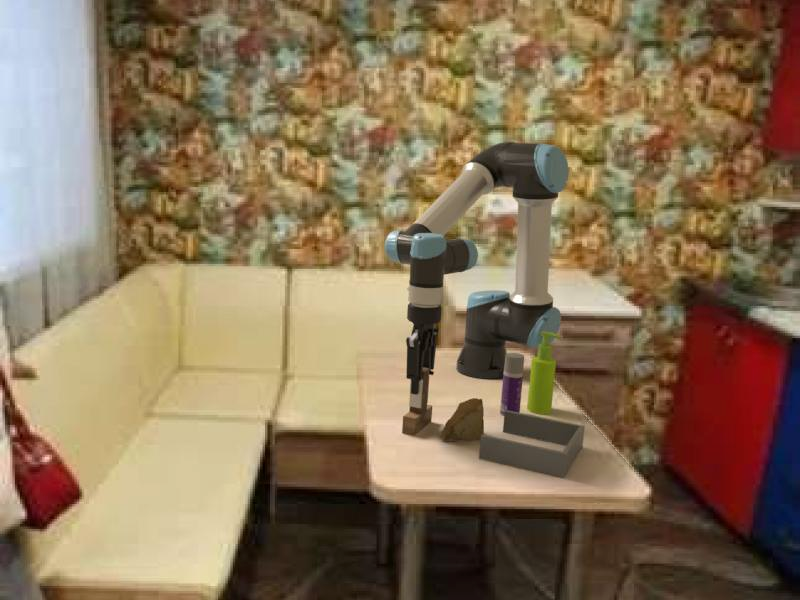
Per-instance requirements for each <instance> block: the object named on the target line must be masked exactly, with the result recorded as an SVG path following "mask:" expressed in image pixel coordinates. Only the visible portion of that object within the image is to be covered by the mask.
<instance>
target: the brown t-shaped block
mask: <svg viewBox="0 0 800 600" xmlns="http://www.w3.org/2000/svg"><path fill="white" fill-rule="evenodd" d="M429 369H430V368H425V367H423V370H422V379H421V380H423V390H422V405H421V408H416V407H411V406H409V411H408V412H407V413H406V414H404V415H403V416H402V427H401V428H402V430H401V434H405V435H408V436H413V437H414V436H416V435H417V434H419V433H420V432H421V431H422V430H423V429H424V428H426V427H427V426H429V424H430V423H432V417H433V405H432V404H431V405H430V404H428V403H427V398H428V399H429V390H428V383H429V384H430V375H429Z"/></svg>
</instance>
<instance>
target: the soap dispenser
mask: <svg viewBox="0 0 800 600" xmlns="http://www.w3.org/2000/svg"><path fill="white" fill-rule="evenodd" d="M540 335H543V339H542V344H539V345H538V348H537V356H533V357H531V366H530V373H529V374H530V375H529V385H528V386H529V387H528V398H527V408H526V409H527V411H529V412H530V413H532V414H537V415H548V414H550V413H552V407H553V406H552V405H553V396H554V387H555V376H556V366H557V360H556V359H555V358H553V357H552V353H553V345H551V344H549V340H550V337H554V338H555V339H556V340H561V339H563V337H564V336H563V335H561V334H559V333H557V334H556V333H552V332H544V331H543V332H541V333H540Z"/></svg>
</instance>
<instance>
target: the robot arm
mask: <svg viewBox="0 0 800 600" xmlns="http://www.w3.org/2000/svg"><path fill="white" fill-rule="evenodd" d="M568 181H569V164H568V159H567V156H566V155H565V152H564V151H563V149H561V148H560V147H559V146H557V145H552V144H546V143H536V142H535V143H533V142H515V141H504V142H498V143H497V144H494V145H491V146H490V147H487V148H485V149H483V150H482V151H481V152H479V153H477V154H476V155H475V156H473V157H472V158H471V159H470V160H469V161H468V162H467V163H466V164H465V165H464V166H462V169H461V174H460V175H459V176H458V177H457V178H456V179H455V180H454V181H453V182H452V184H451V185H449V186H448V188H446V190H444V192H442V193H441V195H440V196H438V197H437V198H436V199H435V201H433V202H432V203H431V204H430V206H428V207H427V208H426V210H425V211H423V213H422V214H420V216H418V218H417V219H416V220H414V222H413V223H412V224H411V225H410V226H409V227H408V228H407V229H406V230H405V231H404V230H401V229H400V230H394V231H391V232H390V233H389V234H388V235H387V236H386V239H385V242H384V252H385V255H386V258H388V259H389V260H390V261H393V262H395V263H400V264H402V265H409V266H410V267H409V268H410V270H409V280H408V281H409V282H408V286H407V289H406V290H407V291H408V302H409V303H408V305H407V313H406V319H407V321H408V322H410V323H412V324H413V326H412V330H411V337H409V336H408V337H406V340H405V343H406V379H408V380H410V383H409V384H410V385H409V399H408V400H409V401H408V402H409V403H408V404H409V405H408V406H409V407H410V406H411V407H416V408H421V405H422V390H423V380H421V379H422V370H423V367H425V368H430V369H429V376H434V374H435V371H433V370H434V368H435V363H436V362H435V361H436V359H435V358H436V349H437V340H438V334H439V327H438V326H437V327H436V326H435V325H436V324H439V323H440V322H441V320H442V311H443V310H442V309H443V308H442V306H441V304H443V297H444V295H443V294H444V277H445V276H446V275H449V274H456V273H457V274H458V273H464V272H466V271H468V270H471V269H472V268H473V267H475V265H476V264H477V263H478V260H479V259H478V258H479V252H478V248H477V245H475V243H474V242H473V241H472V240H470V239H468V238H460V237H459V238H458V237H457V238H455V239H452V238H448V237H447V238H446V236H445V235H446V234H447V233H448V232H449V231H450V230H451V229H452V228H453V226H455V224H456V223H457V222H458V221H459V220H460V219H462V217H463V216H464V215H465V214H466V213H467V212H468V211H469V210H470V209H471V208H472V206H474V204H475V203H476V202H477V201H478V200H479V199H480V198H481V197H482V196H485V195H488V194H489V193H492V191H493V190H494V189H497V188H501V187H503V188H505V187H506V188H512V198H513V199H514V201H516V203H517V230H516V231H517V232H516V236H517V237H516V259H515V260H516V261H515V290H514V292H512V294H510V292H509V291H506V290H495V289H493V290H491V289H490V290H480V291H475V292H472V293H470V294H469V295H468V298H467V304H466V306H465V307H466V313H465V315H466V316H465V329H464V330H465V331H464V341H463V345H462V348H461V350H460V352H459V355H458V357H457V359H456V366H455V367H456V370H457V372H459V373H460V374H463V375H464V376H468V377H472V378H478V379H488V380H489V379H501V378H503V373H504V365H505V356H506V354H507V353H508V352H507V349H506V342H509V343H513V344H516V345H522V346H525V347H528V348H534V349H535V348H536V349H538V345H539V344H542V339H543V335H540V333H541V332H543V331H544V332H552V333H556V334H559V333H558V332H559V330H560V326H561V324H562V323H561V322H562V313H561V310H560V309H559V308H557V307H556V306H554V298H553V296H552V295H551V294H550V293H549V269H550V250H551V249H550V248H551V228H552V206H553V203H554V202H555V201H556V200H558V199H559V193H561V192H563V191H564V189H565V188H566V186H567V182H568ZM555 339H556V338H554V337H550V340H549V344H550V345H551V344H552V343H553V342H554V340H555ZM429 386H430V382H429V383H428V391H429V389H430V388H429ZM428 402H429V397H428V398H427V404H428Z"/></svg>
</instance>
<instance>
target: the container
mask: <svg viewBox="0 0 800 600" xmlns="http://www.w3.org/2000/svg"><path fill="white" fill-rule="evenodd" d="M524 363H525V355H524V354H522V353H519V352H507V354H506V356H505V365H504V373H503V377H502V387H501V397H500V399H501V400H500V409H499V410H500V411H499V414H500V415H501V416H502V417H504V414H505V411H506V410H508V411H513V412H518V413H521V412H520V411H521V401H522V390H523V379H524V367H525V366H524V365H525V364H524Z"/></svg>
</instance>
